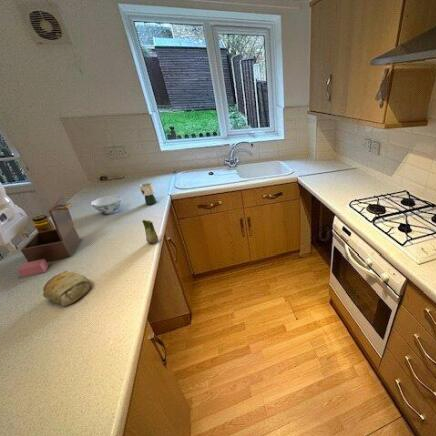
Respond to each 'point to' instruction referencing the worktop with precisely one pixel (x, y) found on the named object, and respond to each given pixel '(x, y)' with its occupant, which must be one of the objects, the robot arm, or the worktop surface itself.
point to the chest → (50, 246)
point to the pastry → (66, 288)
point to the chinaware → (107, 204)
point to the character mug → (148, 193)
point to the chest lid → (61, 217)
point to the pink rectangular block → (32, 267)
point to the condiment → (42, 223)
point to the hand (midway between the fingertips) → (20, 244)
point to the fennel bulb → (150, 232)
